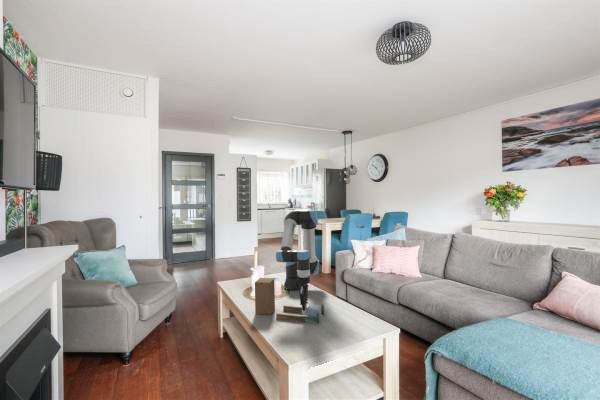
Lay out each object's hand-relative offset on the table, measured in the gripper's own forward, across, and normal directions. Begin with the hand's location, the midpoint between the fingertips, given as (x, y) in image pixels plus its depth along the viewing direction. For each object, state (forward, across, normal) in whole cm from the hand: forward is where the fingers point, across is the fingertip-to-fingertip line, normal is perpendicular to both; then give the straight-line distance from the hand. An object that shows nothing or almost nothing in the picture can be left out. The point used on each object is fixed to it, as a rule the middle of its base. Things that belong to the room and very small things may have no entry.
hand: (304, 314), depth 171 cm
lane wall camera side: (+1, +6, -2) cm, 7 cm away
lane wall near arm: (+1, -6, -2) cm, 7 cm away
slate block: (+1, 0, +6) cm, 7 cm away
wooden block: (+2, -2, -26) cm, 27 cm away
